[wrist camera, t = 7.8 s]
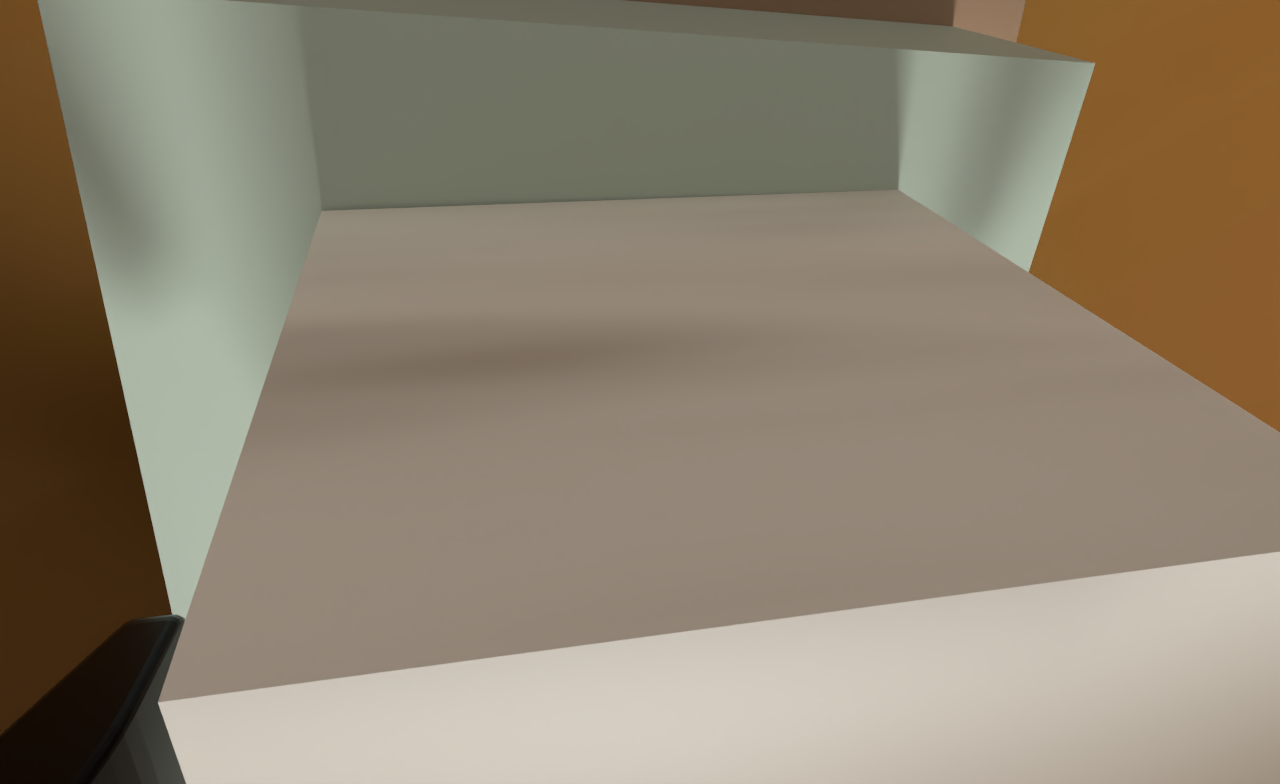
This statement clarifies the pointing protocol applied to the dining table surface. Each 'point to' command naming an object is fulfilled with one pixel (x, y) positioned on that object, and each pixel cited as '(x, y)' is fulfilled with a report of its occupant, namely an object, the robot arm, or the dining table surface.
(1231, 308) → the dining table surface
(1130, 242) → the dining table surface
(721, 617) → the cream cube
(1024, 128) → the sage slab
